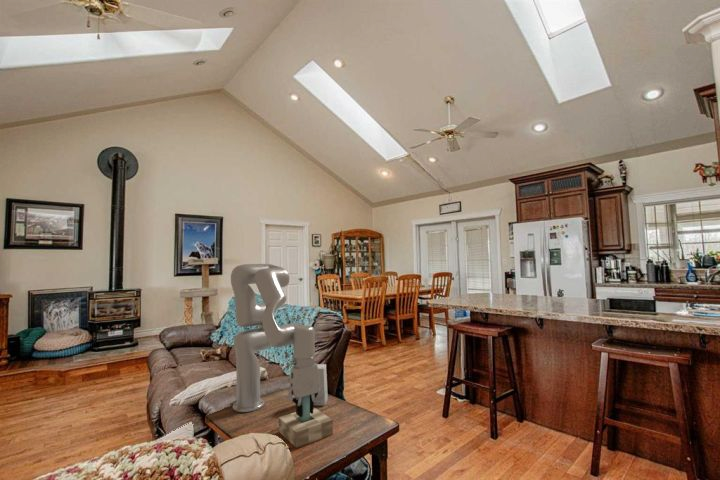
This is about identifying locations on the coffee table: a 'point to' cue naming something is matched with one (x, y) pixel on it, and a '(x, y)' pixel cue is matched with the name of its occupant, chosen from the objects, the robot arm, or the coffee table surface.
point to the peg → (305, 409)
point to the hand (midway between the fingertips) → (305, 413)
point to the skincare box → (322, 386)
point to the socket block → (305, 428)
